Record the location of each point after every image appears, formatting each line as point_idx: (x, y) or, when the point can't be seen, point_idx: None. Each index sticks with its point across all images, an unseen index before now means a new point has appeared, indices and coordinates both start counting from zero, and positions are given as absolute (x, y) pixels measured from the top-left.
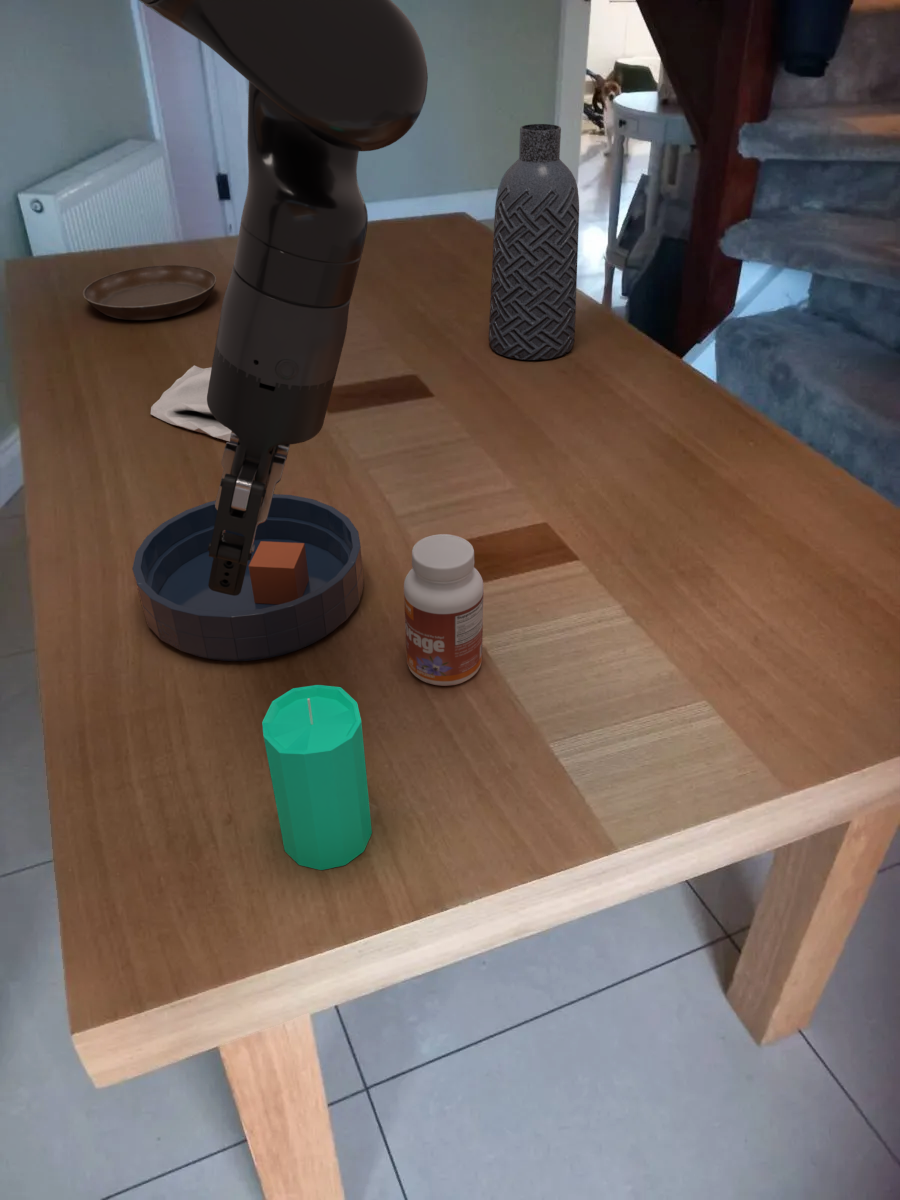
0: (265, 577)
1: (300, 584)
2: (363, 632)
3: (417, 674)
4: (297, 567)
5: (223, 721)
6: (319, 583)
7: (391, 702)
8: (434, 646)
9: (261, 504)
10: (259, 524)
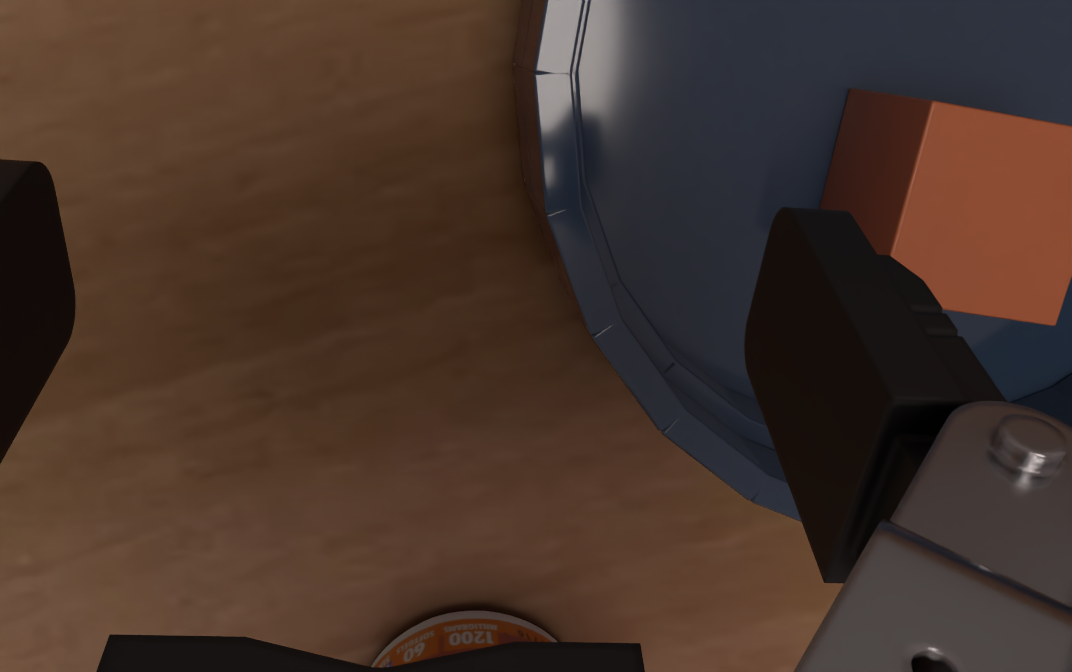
0: (888, 163)
1: None
2: (650, 467)
3: (389, 649)
4: None
5: (211, 39)
6: None
7: (300, 563)
8: None
9: (786, 451)
10: (745, 362)
